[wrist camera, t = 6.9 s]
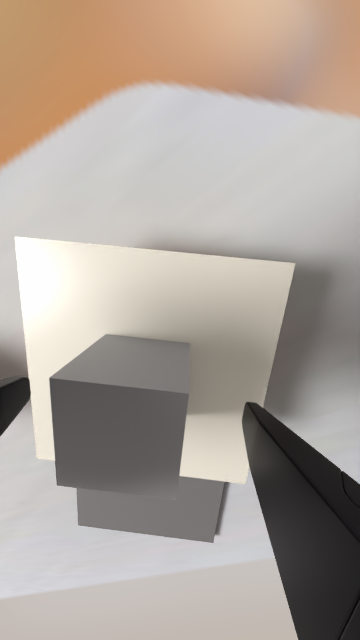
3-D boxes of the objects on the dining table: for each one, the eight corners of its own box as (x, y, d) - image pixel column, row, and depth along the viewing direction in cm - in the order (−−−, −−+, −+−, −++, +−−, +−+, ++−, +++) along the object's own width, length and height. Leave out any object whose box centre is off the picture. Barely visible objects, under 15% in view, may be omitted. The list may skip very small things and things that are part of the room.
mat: (233, 422, 17) (234, 428, 16) (212, 534, 20) (213, 542, 19) (77, 404, 17) (73, 409, 16) (81, 517, 20) (78, 525, 20)
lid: (286, 263, 9) (384, 258, 5) (242, 470, 12) (273, 594, 8) (29, 239, 10) (-125, 211, 5) (46, 446, 13) (-39, 551, 8)
